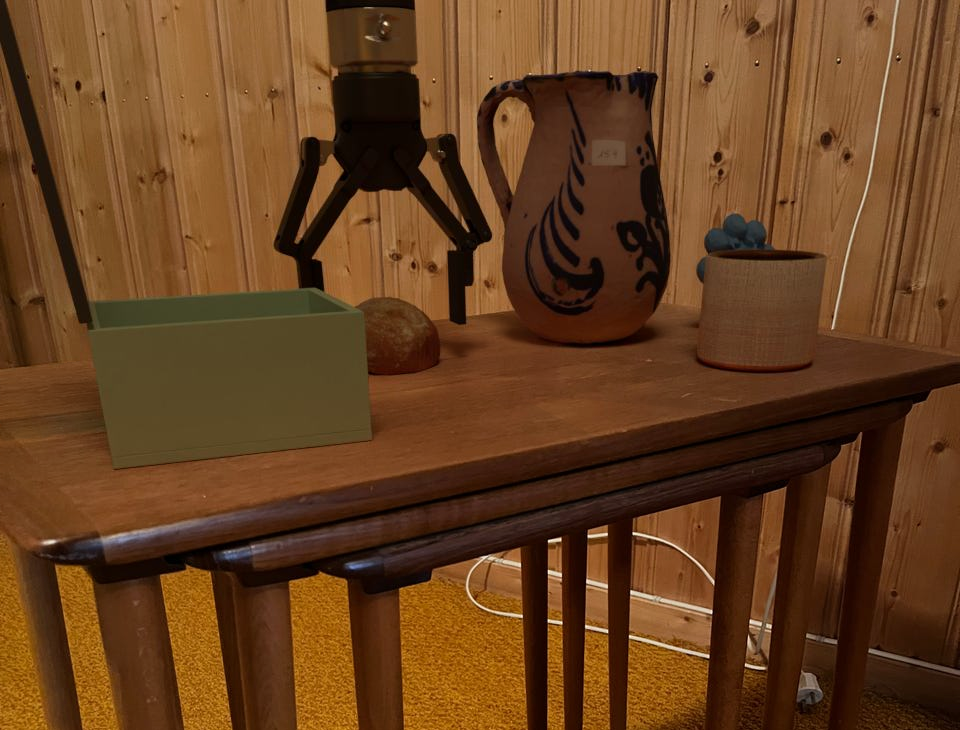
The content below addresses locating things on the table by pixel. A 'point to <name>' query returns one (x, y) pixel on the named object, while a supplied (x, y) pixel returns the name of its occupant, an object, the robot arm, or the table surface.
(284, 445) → the olive green storage bin
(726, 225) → the grapes
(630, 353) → the table surface
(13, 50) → the storage bin lid
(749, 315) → the planter
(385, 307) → the bread roll
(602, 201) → the ceramic pitcher
